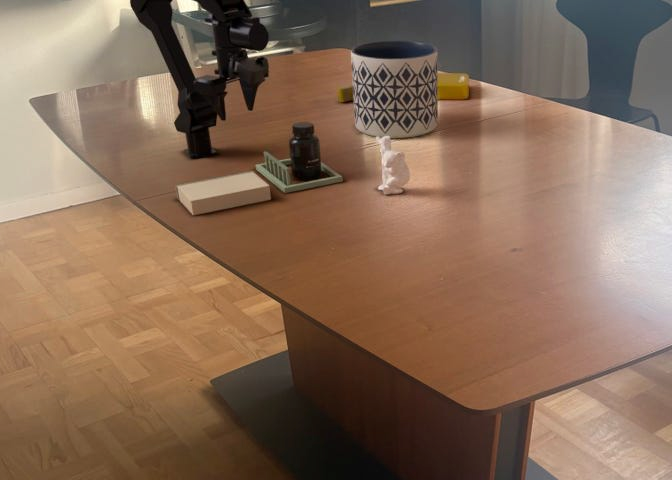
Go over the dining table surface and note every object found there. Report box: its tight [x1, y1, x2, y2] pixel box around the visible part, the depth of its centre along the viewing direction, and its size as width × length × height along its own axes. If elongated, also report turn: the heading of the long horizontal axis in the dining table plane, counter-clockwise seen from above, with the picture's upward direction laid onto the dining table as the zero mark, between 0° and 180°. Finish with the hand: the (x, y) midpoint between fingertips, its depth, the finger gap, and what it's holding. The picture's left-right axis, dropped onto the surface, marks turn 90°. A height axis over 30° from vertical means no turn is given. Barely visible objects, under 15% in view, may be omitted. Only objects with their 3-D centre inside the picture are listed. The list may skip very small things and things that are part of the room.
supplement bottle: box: [288, 121, 322, 181], centre depth 189 cm, size 7×7×12 cm
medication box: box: [336, 84, 354, 103], centre depth 248 cm, size 12×3×4 cm, turn 134°
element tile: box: [438, 72, 470, 101], centre depth 254 cm, size 15×15×5 cm
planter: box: [350, 39, 439, 139], centre depth 220 cm, size 22×22×20 cm
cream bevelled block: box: [174, 170, 272, 216], centre depth 179 cm, size 11×17×3 cm, turn 122°
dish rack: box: [255, 150, 344, 194], centre depth 191 cm, size 18×14×5 cm
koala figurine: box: [375, 136, 411, 195], centre depth 181 cm, size 8×7×12 cm
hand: (237, 115), depth 193 cm, fingers open, 9 cm apart
